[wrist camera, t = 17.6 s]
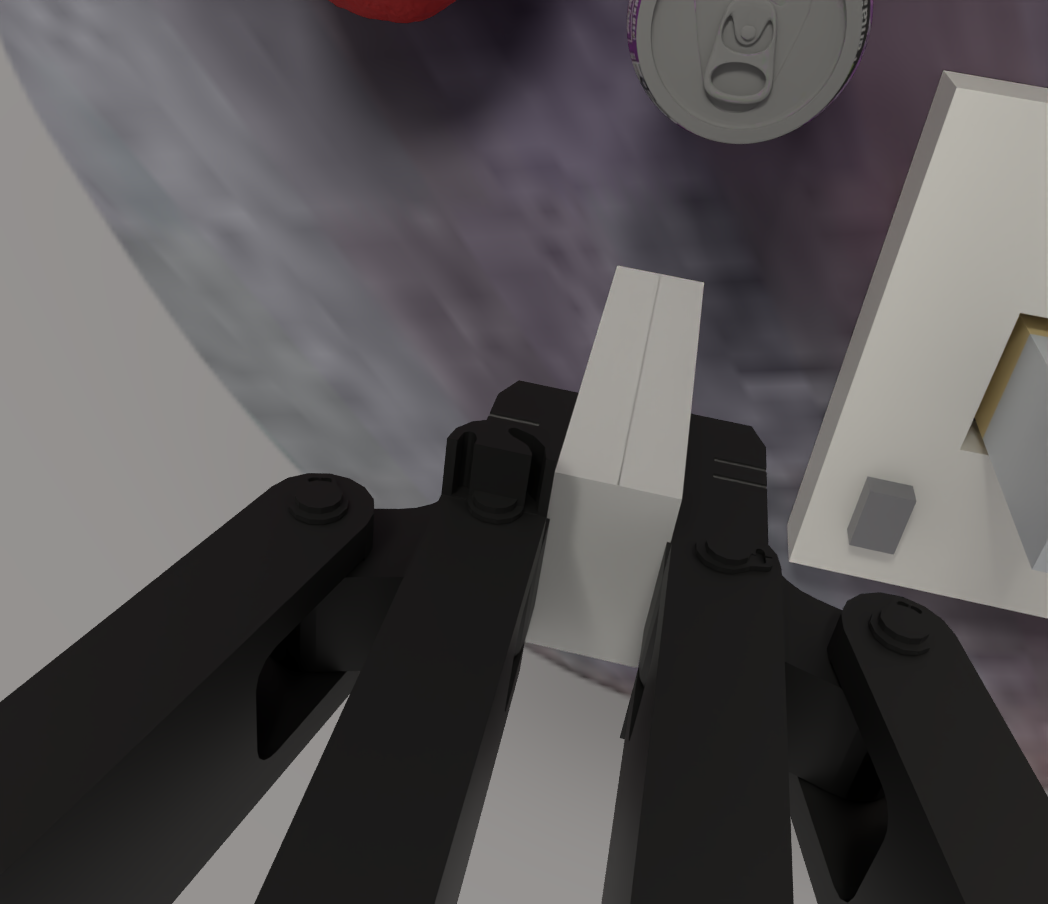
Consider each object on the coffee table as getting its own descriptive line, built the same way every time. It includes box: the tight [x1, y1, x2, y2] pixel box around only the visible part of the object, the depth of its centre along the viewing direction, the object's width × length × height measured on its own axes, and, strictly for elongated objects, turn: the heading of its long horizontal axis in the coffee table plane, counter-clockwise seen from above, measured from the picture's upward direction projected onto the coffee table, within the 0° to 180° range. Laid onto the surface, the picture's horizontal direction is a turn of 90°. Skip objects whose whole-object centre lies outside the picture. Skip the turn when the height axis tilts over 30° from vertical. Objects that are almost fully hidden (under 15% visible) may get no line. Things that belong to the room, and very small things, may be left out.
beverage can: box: [627, 0, 873, 144], centre depth 33 cm, size 7×7×12 cm
